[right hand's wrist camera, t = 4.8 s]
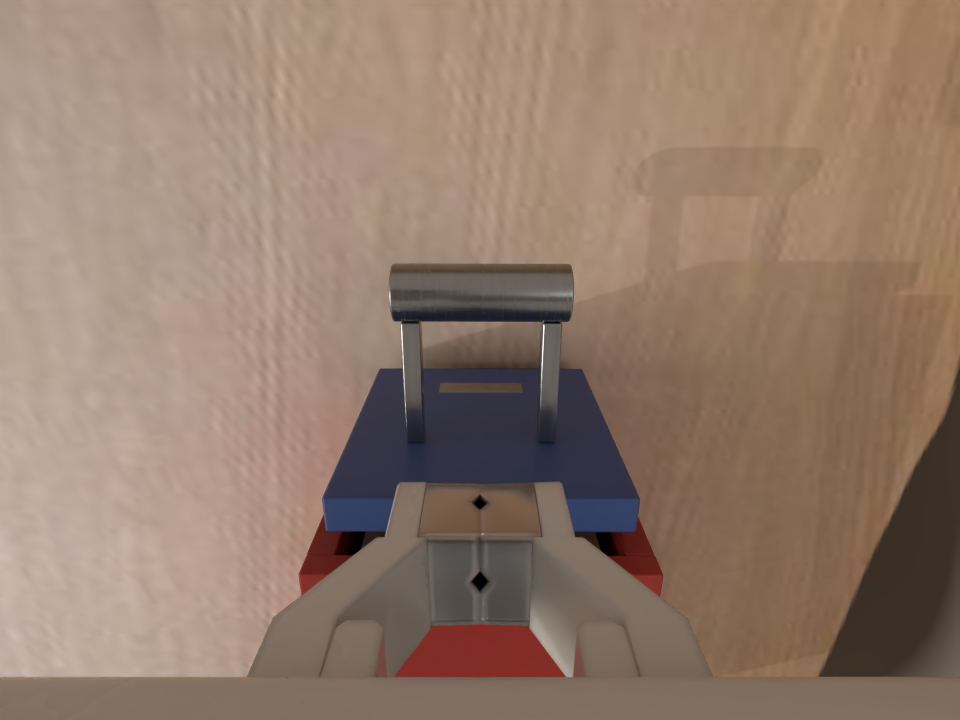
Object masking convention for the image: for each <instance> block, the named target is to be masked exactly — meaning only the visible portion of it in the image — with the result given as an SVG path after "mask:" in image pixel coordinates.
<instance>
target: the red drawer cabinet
mask: <svg viewBox="0 0 960 720" xmlns="http://www.w3.org/2000/svg"><path fill="white" fill-rule="evenodd" d="M365 533H366V532H357V531H326V528H325V519H324V515H323V517H322V520H321V522H320V524H319V527H318V529H317V532H316V534H315V536H314V539H313V541H312V543H311V546H310V548H309V551H308V553H307V556H306V558H305V561H304V563H303V565H302V568H301V570H300V573H299V581H300V588H301V595H303V594H304V593H306V592H307V591H308V590H309V589H311V588H312V587H313V586H315V585H316V584H317V583H318V582H320V581H321V580H322V579H324V578H325V577H326V576H328V575H329V574H330V573H331V572H333V571H334V570H335V569H337V568H338V567H339V566H340V565H342V564H343V563H344V562H346V561H347V560H348V559H349V558H351V557H352V556H353V555H355V554H356V553H357V552H359V551H360V550H361V546H362V543H363V540H364V536H365ZM596 536H597V539H598V542H599V546H600V549H601V552H603V553H604V554H605V555H607V556H608V557H609V558H610V559H612V560H613V561H614V562H616V563H617V564H618V565H619V566H621V567H622V568H623V569H625V570H626V571H627V572H628V573H630V574H631V575H632V576H634V577H635V578H636V579H637V580H639V581H640V582H641V583H643V584H644V585H645V586H646V587H648V588H649V589H650V590H652V591H653V592H654V593H655V594H657V595H658V596H659V597H660V594H661V587H662V580H663V574H662V571H661V569H660V567H659V564H658V562H657V560H656V557H655V556H654V553H653V551H652V549H651V546H650V544H649V541H648V539H647V537H646V534H645V532H644V530H643V527H642V525H641V522H640V520H639V518H638V520H637V528H636V531H635V532H596ZM394 677H566V676H565V675H564V673H563V672H562V671H561V669H560V668H559V667H558V665H557V664H556V663H555V661H554V660H553V659H552V657H551V656H550V655H549V653H548V652H547V651H546V649H545V648H544V647H543V645H542V644H541V643H540V641H539V640H538V639H537V637H536V636H535V635H534V633H533V632H532V631H531V629H530V626H514V625H445V626H430V630H429V631H428V633H427V634H426V635H425V637H424V638H423V639H422V641H421V642H420V643H419V645H418V646H417V647H416V649H415V650H414V651H413V653H412V654H411V655H410V657H409V658H408V659H407V661H406V662H405V663H404V665H403V666H402V667H401V669H400V670H399V671H398V673H397V674H396V675H395V676H394Z"/></svg>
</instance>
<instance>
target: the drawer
mask: <svg viewBox="0 0 960 720" xmlns="http://www.w3.org/2000/svg"><path fill="white" fill-rule="evenodd" d="M573 300H574V279H573V271H572V267H571V265H570V264H393V265H392V267H391V270H390V278H389V302H390V311H391V316H392V319H393V320H394V321H402V322H401V324H400V325H401V344H402V364H403V369H380V370H379V372H378V374H377V376H376V379H375V381H374V383H373V385H372V388H371V390H370V392H369V394H368V397H367V399H366V401H365V403H364V406H363V408H362V410H361V412H360V415H359V417H358V419H357V421H356V424H355V426H354V428H353V430H352V433H351V435H350V437H349V439H348V442H347V444H346V446H345V448H344V451H343V453H342V455H341V457H340V460H339V462H338V464H337V466H336V469H335V471H334V473H333V475H332V478H331V480H330V482H329V484H328V486H327V489H326V491H325V493H324V495H323V498H322V502H323V511H324V519H325V528H326V531H357V532H366V533H365V536H364V540H363V543H362V546H361V549H362V548H364V547H365V546H366V545H368V544H369V543H370V542H371V541H373V540H374V539H375V538H377V537H385V534H386V530H387V526H388V522H389V518H390V513H391V509H392V505H393V501H394V497H395V493H396V489H397V486H398V484H399V483H400V482H426V483H427V482H449V483H480V484H501V483H533V482H560V483H562V485H563V489H564V493H565V498H566V502H567V506H568V510H569V514H570V518H571V522H572V526H573V530H574V534H575V537H583V538H585V539H586V540H587V541H589V542H590V543H591V544H592V545H594V546H595V547H596V548H598V549H599V550H600V551H601V549H600V546H599V542H598V539H597V536H596V532H635V531H636V528H637V520H638V512H639V504H640V498H639V496H638V494H637V491H636V489H635V487H634V485H633V482H632V480H631V478H630V476H629V474H628V471H627V469H626V467H625V465H624V462H623V460H622V458H621V456H620V453H619V451H618V449H617V447H616V444H615V442H614V440H613V438H612V436H611V433H610V431H609V429H608V427H607V424H606V422H605V420H604V418H603V415H602V413H601V411H600V409H599V407H598V404H597V402H596V400H595V398H594V395H593V393H592V391H591V389H590V386H589V384H588V382H587V380H586V377H585V375H584V373H583V371H582V369H560V353H561V335H562V323H561V322H568V321H569V320H570V318H571V315H572V310H573ZM421 321H458V322H541V337H540V360H539V369H423V350H422V323H421Z"/></svg>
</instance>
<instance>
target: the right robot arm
mask: <svg viewBox="0 0 960 720" xmlns="http://www.w3.org/2000/svg"><path fill="white" fill-rule="evenodd" d="M445 625H514V626H530V629H531V631H532V632H533V633H534V635H535V636H536V637H537V639H538V640H539V641H540V643H541V644H542V645H543V647H544V648H545V649H546V651H547V652H548V653H549V655H550V656H551V657H552V659H553V660H554V661H555V663H556V664H557V665H558V667H559V668H560V669H561V671H562V672H563V673H564V675H565V676H566V677H394V676H395V675H396V674H397V673H398V671H399V670H400V669H401V667H402V666H403V665H404V663H405V662H406V661H407V659H408V658H409V657H410V655H411V654H412V653H413V651H414V650H415V649H416V647H417V646H418V645H419V643H420V642H421V641H422V639H423V638H424V637H425V635H426V634H427V633H428V631H429V630H430V626H445ZM0 720H960V677H713V676H712V673H711V671H710V669H709V667H708V664H707V662H706V660H705V657H704V655H703V653H702V651H701V648H700V646H699V644H698V641H697V639H696V637H695V634H694V632H693V630H692V628H691V625H690V623H689V621H688V618H686V617H685V616H684V615H682V614H681V613H680V612H679V611H677V610H676V609H675V608H673V607H672V606H671V605H670V604H668V603H667V602H666V601H664V600H663V599H662V598H661V597H659V596H658V595H657V594H655V593H654V592H653V591H652V590H650V589H649V588H648V587H646V586H645V585H644V584H643V583H641V582H640V581H639V580H637V579H636V578H635V577H634V576H632V575H631V574H630V573H628V572H627V571H626V570H625V569H623V568H622V567H621V566H619V565H618V564H617V563H616V562H614V561H613V560H612V559H610V558H609V557H608V556H607V555H605V554H604V553H603V552H601V551H600V550H599V549H598V548H596V547H595V546H594V545H592V544H591V543H590V542H589V541H587V540H586V539H585V538H583V537H575V534H574V530H573V526H572V522H571V518H570V514H569V510H568V506H567V502H566V498H565V493H564V489H563V485H562V483H560V482H533V483H501V484H480V483H449V482H427V483H426V482H400V483H399V484H398V486H397V489H396V493H395V497H394V501H393V505H392V509H391V513H390V518H389V522H388V526H387V530H386V534H385V537H377V538H375V539H374V540H373V541H371V542H370V543H369V544H368V545H366V546H365V547H364V548H362V549H361V550H360V551H359V552H357V553H356V554H355V555H353V556H352V557H351V558H349V559H348V560H347V561H346V562H344V563H343V564H342V565H340V566H339V567H338V568H337V569H335V570H334V571H333V572H331V573H330V574H329V575H328V576H326V577H325V578H324V579H322V580H321V581H320V582H318V583H317V584H316V585H315V586H313V587H312V588H311V589H309V590H308V591H307V592H306V593H304V594H303V595H302V596H300V597H299V598H298V599H297V600H295V601H294V602H293V603H291V604H290V605H289V606H287V607H286V608H285V609H284V610H282V611H281V612H280V613H278V614H277V615H276V616H275V617H273V619H272V621H271V624H270V626H269V628H268V630H267V633H266V635H265V637H264V639H263V642H262V644H261V646H260V649H259V651H258V653H257V655H256V658H255V660H254V662H253V664H252V667H251V669H250V671H249V673H248V676H247V677H0Z"/></svg>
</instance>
